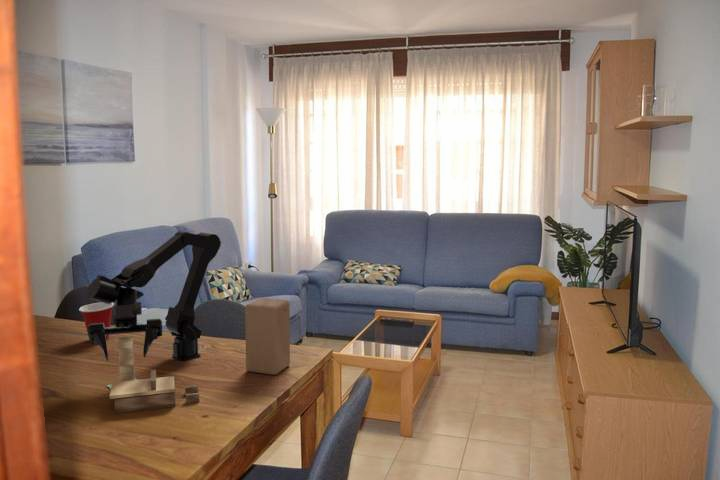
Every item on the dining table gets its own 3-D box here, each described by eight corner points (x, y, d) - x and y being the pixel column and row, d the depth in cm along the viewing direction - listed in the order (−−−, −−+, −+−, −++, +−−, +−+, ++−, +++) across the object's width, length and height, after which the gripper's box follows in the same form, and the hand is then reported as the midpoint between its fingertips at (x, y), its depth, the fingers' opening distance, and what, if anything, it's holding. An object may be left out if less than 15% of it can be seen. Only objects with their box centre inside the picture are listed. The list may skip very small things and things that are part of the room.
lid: (174, 379, 160) (173, 367, 159) (174, 391, 151) (174, 379, 151) (112, 385, 155) (111, 373, 155) (109, 398, 147) (109, 386, 146)
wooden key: (135, 382, 166) (132, 336, 164) (134, 387, 163) (132, 340, 161) (121, 384, 165) (118, 337, 163) (120, 388, 162) (118, 341, 160)
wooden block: (291, 365, 182) (290, 299, 179) (276, 376, 173) (275, 307, 170) (261, 361, 185) (260, 296, 182) (244, 372, 176) (243, 304, 173)
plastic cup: (84, 336, 208) (82, 302, 207) (117, 334, 211) (116, 300, 209) (77, 346, 198) (75, 310, 196) (113, 343, 200) (111, 308, 199)
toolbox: (197, 390, 162) (197, 377, 161) (199, 403, 154) (199, 390, 153) (117, 399, 156) (116, 386, 155) (114, 413, 147) (114, 399, 147)
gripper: (86, 294, 161) (83, 347, 153) (160, 290, 167) (162, 340, 158) (91, 315, 170) (88, 367, 161) (161, 310, 176) (163, 360, 167)
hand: (125, 358), depth 162 cm, fingers open, 9 cm apart
